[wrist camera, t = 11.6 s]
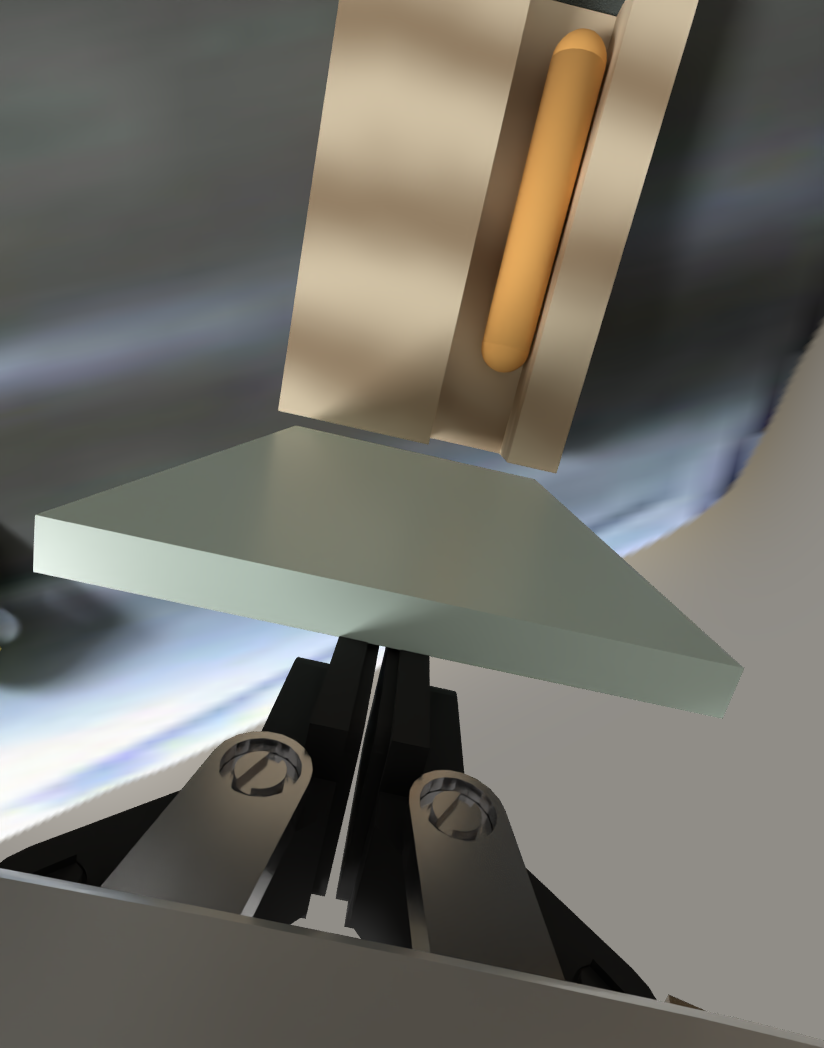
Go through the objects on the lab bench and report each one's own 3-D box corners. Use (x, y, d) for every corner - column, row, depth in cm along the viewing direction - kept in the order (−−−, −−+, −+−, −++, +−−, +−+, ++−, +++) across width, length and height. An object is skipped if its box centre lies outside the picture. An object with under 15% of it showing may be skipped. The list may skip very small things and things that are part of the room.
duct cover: (34, 514, 9) (32, 572, 9) (744, 668, 9) (723, 718, 9) (295, 425, 26) (292, 445, 26) (534, 479, 26) (529, 498, 27)
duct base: (365, -40, 24) (355, -107, 21) (665, 37, 24) (703, -17, 21) (295, 406, 29) (278, 410, 26) (541, 461, 30) (556, 473, 27)
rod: (555, 45, 24) (561, 9, 22) (607, 54, 24) (620, 19, 22) (476, 367, 28) (475, 365, 26) (521, 377, 28) (524, 377, 26)
